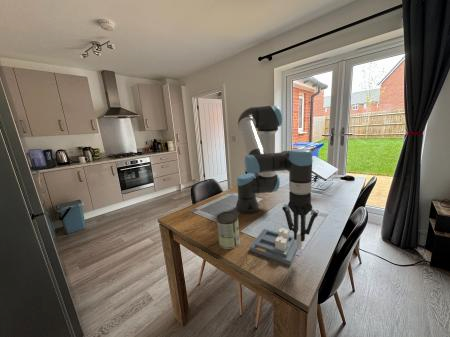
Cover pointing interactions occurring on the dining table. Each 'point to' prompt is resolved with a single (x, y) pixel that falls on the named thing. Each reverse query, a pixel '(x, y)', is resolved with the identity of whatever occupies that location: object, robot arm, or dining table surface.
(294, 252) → the switch board
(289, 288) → the dining table surface
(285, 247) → the tab
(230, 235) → the coffee can
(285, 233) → the tab
